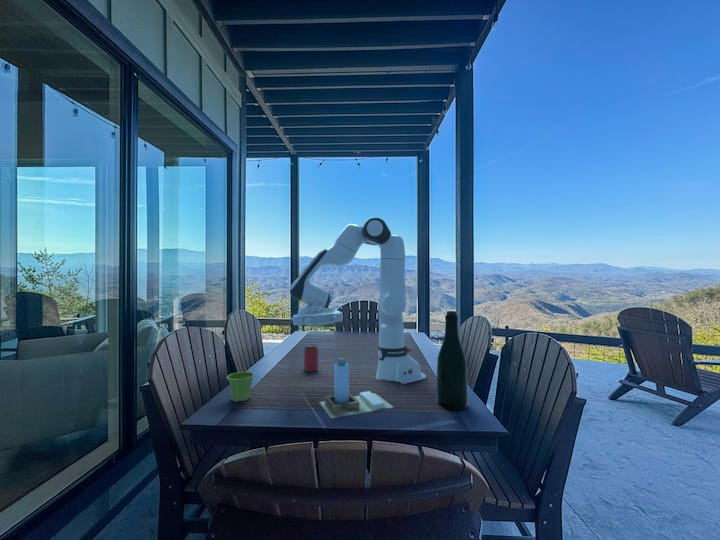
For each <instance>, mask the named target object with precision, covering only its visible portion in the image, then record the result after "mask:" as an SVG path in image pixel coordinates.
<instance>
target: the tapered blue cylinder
mask: <svg viewBox="0 0 720 540" xmlns="http://www.w3.org/2000/svg"><path fill="white" fill-rule="evenodd" d="M333 374H334V375H333V378H334V379H333V382H334V383H333V386H334V387H333V390H334V392H333V393H334V394H333V395H334V404H335V405H336V404H343V403H349V393H350V364H349V363H347V358H346V357H337V358H336V363H334V365H333Z"/></svg>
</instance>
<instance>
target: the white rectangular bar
mask: <svg viewBox="0 0 720 540" xmlns="http://www.w3.org/2000/svg"><path fill="white" fill-rule="evenodd" d="M359 396H360V398H361V399H363V400H364V401H365V402H366V403H367V404H368V405H369V406H370V407H372V408H373V409H378V408H384V402H383V401H381V400H380V399H379V398H378V397H376V396H375V395H374V393H372V392H371V391H370V390H369V391H361V392H359Z"/></svg>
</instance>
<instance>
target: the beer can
mask: <svg viewBox="0 0 720 540" xmlns="http://www.w3.org/2000/svg"><path fill="white" fill-rule="evenodd" d="M318 369H319V347H318V345H317V344H313V343H310V344H309V343H308V344H305V346H304V351H303V370H304V371H305V372H308V373H313V372H317V371H318Z"/></svg>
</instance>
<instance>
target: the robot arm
mask: <svg viewBox="0 0 720 540" xmlns="http://www.w3.org/2000/svg"><path fill="white" fill-rule="evenodd" d="M391 233H392V232H391V231H390V229H389V227H388V225H387V223H386V221H385V220H384V219H382V218H381V217H377V216H375V217H374V216H373V217H370V218H368V219H367V220H366V221H365V222H364V223H363V226H360V225H357V224H354V223H349V224H347V225H345V227H344V228H343V229H342V230H341V231H340V233H339V234H338V236H337V238H336V239H335V240H334V242H333V244H332V245H331V246H329V247H328V248H323V249H321V250H320V251H319V252H318V254H316V255H315V256H314V258H313V259H312V260H311V261H310V263H309V264H308V265H307V266H306V267H305V269H304V270H303V271H302V272H301V274H300V275H299V276H298V277H297V278H296V279H295V280H294V281H293V282H292V283H291V285H290V288H289V294H290V296H291V298H292V299H293V300H296V301H299V302H302V303H304V305H302V306H300V307H299V308H298V310H297V313H296V314H293V315H292V317H289V318H290V319H289V320H290V321H292V325H293V326H305V325H306V326H308V327H310V328H319V327H321V326H322V327H323V326H324V325H330V324H334V323H341V322H343V320H344V318H343V317H344V315H343V312H341V311H339V310H335V309H334V307H329V306H330V304H331V294H330V291H329V289H326V288H324V287H322V286H320V285H317V284H316V283H314V282H312V281H310V280H311V278H312V277H313V276H314V275H315V273H316V272H317V271H318V269H320V268H321V267H322V266H325V265H332V266H346V265H349V264H350V263H351V262H352V261H353V259H354V258H355V256H356V255H357V252H358V251H359V249H360V248H361V246H363V244H365V245H371V246H378V247H379V249H380V256H379V257H380V260H379V263H380V264H379V285H380V286H379V288H380V290H379V291H380V292H379V296H378V299H377V302H378V303H377V304H378V306H377V307H378V310H377V311H378V336H379V337H378V340H379V341H378V345H377V348H378V349H377V356H378V357H377V358H378V359H377V360H378V364H377V370H376V375H375V379H376V380H377V381H380V380H383V381H390V382H398V383H400V384H403V385H405V384H409V383H413V382H417V381H422V380H425V379H427V376H426V374H425V373H423V372H422V370H421V366H420V363H419V362H418V361H417V360H416V359H414V358H413V357H412V356H410V355H409V354H408V353H412V347H409V346H405V327H404V319H403V316H404V315H403V313H404V311H405V310H406V306H407V305H406V304H407V297H406V296H407V295H406V293H407V291H406V277H405V274H406V272H405V271H406V270H405V269H406V268H405V267H406V252H405V251H406V250H405V242H404V239H403V238H402V236H400V235H396V234H391Z"/></svg>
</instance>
